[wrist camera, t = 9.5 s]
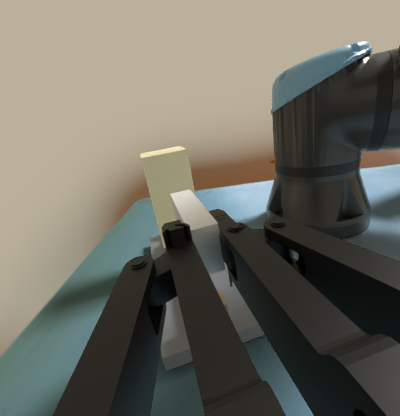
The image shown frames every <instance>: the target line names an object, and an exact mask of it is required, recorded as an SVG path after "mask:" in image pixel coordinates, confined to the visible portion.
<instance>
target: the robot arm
mask: <svg viewBox="0 0 400 416" xmlns="http://www.w3.org/2000/svg"><path fill="white" fill-rule="evenodd" d="M371 52H372V47H371V46H370V43H369V42H366V41H363V42H358V43H354V44H352V45H346V46H343V47H340V48H337V49H334V50H331V51H328V52H326V53H323V54H320V55H318V56H315V57H313V58H311V59H308V60H306V61H304V62H301V63H299V64H297V65H295V66H293V67H291V68H289V69H287V70H286V71H284V72H283V73H281V74H280V75H279V76H278V77H277V78H276V80H275V82H274V84H273V89H272V110H271V114H273V134H274V154H275V179H274V183H273V186H272V190H271V193H270V197H269V200H268V203H267V209H266V210H267V221H265V223H264V229H256V230H251V229H250V228H249V227H248V226H247V225H245V224H243V223H236V222H235V221H234V220H233V219H232V218H230V217H229V216H228V215H227V214H226V213H225V212H224V211H223V210H220V209H216V210H212V211H207V209H206V208H205V207H204V206H203V205H202V203H201V202H200V201H199V200H198V198H197V197H196V196H195V195H194V194H193V192H192V191H191V190H190V189H189V190H185V191H181V192H176V193H172V194H170V196H171V200H172V204H173V209H174V213H175V217H176V221H172V222H168V223H165V224H164V225H163V226H162V235H163V238H164V242H165V246H166V251H165V252H164V254H163V255H161V256H160V257H158V258H157V259H155V260H153V258H152V257H150V256H140V257H136V258H133V259H132V260H130V261H129V262H127V263H126V265H125V266H124V268H123V270H122V272H121V274H120V276H119V278H118V280H117V282H116V284H115V286H114V289H113V291H112V293H111V295H110V297H109V299H108V301H107V303H106V305H105V307H104V309H103V312H102V314H101V316H100V318H99V320H98V322H97V324H96V326H95V328H94V330H93V332H92V335H91V337H90V339H89V341H88V343H87V345H86V347H85V349H84V351H83V353H82V355H81V358H80V360H79V362H78V364H77V366H76V368H75V370H74V372H73V374H72V376H71V378H70V380H69V383H68V385H67V387H66V389H65V391H64V393H63V395H62V397H61V399H60V401H59V403H58V406H57V408H56V410H55V412H54V414H53V416H150V413H151V406H152V400H153V393H154V387H155V380H156V374H157V368H158V361H159V355H160V348H161V342H162V335H163V329H164V322H165V316H166V309H167V306H166V303H167V302H168V301H170V300H172V299H173V298H175V297H177V296H178V301H179V305H180V309H181V313H182V317H183V322H184V326H185V330H186V334H187V338H188V343H189V347H190V351H191V355H192V359H193V364H194V368H195V372H196V376H197V380H198V385H199V389H200V393H201V397H202V402H203V407H204V412H205V416H286V415H285V413H284V411H283V410H282V408H281V406H280V404H279V402H278V400H277V398H276V396H275V394H274V392H273V391H272V389H271V387H270V386H269V384H268V383H267V382H266V381H263V380H261V379H260V377H259V375H258V374H257V372H256V370H255V368H254V366H253V363H252V361H251V359H250V357H249V355H248V353H247V351H246V349H245V347H244V345H243V343H242V341H241V339H240V337H239V335H238V333H237V331H236V329H235V326H234V324H233V322H232V320H231V318H230V316H229V314H228V312H227V310H226V308H225V306H224V304H223V302H222V300H221V298H220V296H219V294H218V292H217V290H216V287H215V285H214V283H213V281H212V279H211V277H210V275H209V274H213V273H216V272H219V271H222V270H225V265H224V262H225V263H226V265H227V269H228V275H229V282H230V287H233V285H232V282H233V283H234V284H235V286H236V288H237V289H238V291H239V293H240V294H241V296H242V298H243V299H244V301H245V303H246V304H247V306H248V308H249V309H250V311H251V312H252V314H253V316H254V317H255V319H256V321H257V322H258V324H259V326H260V327H261V329H262V331H263V332H264V334H265V336H266V337H267V339H268V340H269V342H270V344H271V345H272V347H273V349H274V350H275V352H276V354H277V355H278V357H279V359H280V360H281V362H282V364H283V365H284V367H285V369H286V370H287V372H288V373H289V375H290V377H291V378H292V380H293V382H294V383H295V385H296V387H297V388H298V390H299V392H300V393H301V395H302V397H303V398H304V400H305V401H306V403H307V405H308V406H309V408H310V410H311V411H312V413H313V415H314V416H400V262H399V261H396V260H393V259H391V258H388V257H385V256H383V255H380V254H378V253H375V252H372V251H370V250H367V249H364V248H362V247H359V246H356V245H354V244H351V243H349V242H346V241H343V240H341V239H340V238H346V237H350V236H353V235H356V234H358V233H361V232H362V231H364V230H365V229H366V228H367V227H368V226H369V223H370V214H371V207H370V204H369V201H368V197H367V194H366V191H365V188H364V184H363V181H362V178H361V175H360V161H361V153H362V152H364V151H378V150H393V149H400V47H399V48H397V49H393V50H389V51H385V52H381V53H376V54H370V53H371ZM293 251H295V252H297V253H299V259H298V260H296V259H294V258H293Z"/></svg>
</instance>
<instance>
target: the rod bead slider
mask: <svg viewBox="0 0 400 416" xmlns="http://www.w3.org/2000/svg"><path fill="white" fill-rule="evenodd" d="M150 247H151V257H152V258H153V260H155V259H157V258H158V257H160V256H161V255H163V254H164V252H165V251H166V248H163V244H162V240H161V236H160V235H159V236H155V237H152V238H150ZM224 265H225V270H222V271H219V272H216V273H213V274H209V275H210V277H211V279H212V281H213V283H214V285H215V287H216V290H217V292H218V294H219V296H220V298H221V300H222V302H223V304H224V306H225V308H226V310H227V312H228V314H229V316H230V318H231V320H232V322H233V324H234V326H235V329H236V331H237V333H238V335H239V337H240V339H241V341H242V343H245V342H247V341H250V340H253V339H256V338H258V337H261V336H264V335H265V334H264V332H263V331H262V329H261V327H260V326H259V324H258V322H257V321H256V319H255V317H254V316H253V314H252V312H251V311H250V309H249V308H248V306H247V304H246V303H245V301H244V299H243V298H242V296H241V294H240V293H239V291H238V289H237V288H236V286H235V284H234V283H233V282H232V285H233V287H230V282H229V275H228V269H227V265H226V263H225V262H224ZM166 306H167V309H166V316H165V322H164V329H163V335H162V342H161V354H162V360H163V363H164V366H165V370H166V371H168V370H171V369H173V368H176V367H179V366H182V365H184V364H187V363H190V362H193V359H192V355H191V351H190V347H189V343H188V338H187V334H186V330H185V326H184V322H183V317H182V313H181V309H180V305H179V301H178V296H177V297H175V298H173V299H172V300H170V301H168V302H167V303H166Z"/></svg>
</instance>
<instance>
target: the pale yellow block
mask: <svg viewBox="0 0 400 416" xmlns="http://www.w3.org/2000/svg"><path fill="white" fill-rule="evenodd" d="M141 161H142V165H143V169H144V173H145V177H146V180H147V185H148V189H149V193H150V197H151V201H152V204H153V208H154V212H155V216H156V220H157V224H158V228H159V232H160V236H161V240H162V244H163V248H166V246H165V242H164V238H163V235H162V226H163V225H164V224H165V223H168V222H172V221H176V217H175V213H174V209H173V204H172V200H171V196H170V194H172V193H176V192H181V191H185V190H189V189H190V190H191V191H192V192H193V194H194V195H195V192H194V187H193V181H192V175H191V169H190V164H189V158H188V153H187V149H185V148H183V147H180V146H177V147H172V148H167V149H162V150H157V151H152V152H146V153H141Z"/></svg>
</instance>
